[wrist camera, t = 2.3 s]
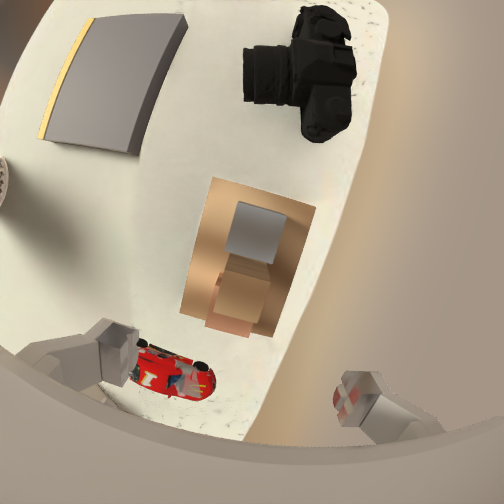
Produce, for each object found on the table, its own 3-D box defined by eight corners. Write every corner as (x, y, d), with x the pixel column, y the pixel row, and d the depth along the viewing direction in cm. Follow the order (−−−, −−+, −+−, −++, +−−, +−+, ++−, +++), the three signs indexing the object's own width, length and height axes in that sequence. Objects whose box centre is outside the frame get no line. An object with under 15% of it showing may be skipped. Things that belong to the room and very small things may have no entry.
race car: (223, 367, 30) (218, 387, 26) (210, 396, 31) (205, 417, 27) (122, 326, 30) (108, 341, 26) (118, 359, 31) (105, 374, 27)
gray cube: (269, 253, 26) (272, 264, 22) (228, 242, 26) (224, 250, 22) (281, 212, 25) (287, 216, 21) (239, 200, 25) (237, 201, 21)
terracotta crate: (248, 318, 27) (248, 338, 23) (210, 308, 27) (204, 326, 23) (259, 282, 26) (261, 298, 22) (219, 271, 26) (214, 285, 22)
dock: (138, 155, 26) (126, 151, 23) (51, 141, 25) (36, 138, 22) (188, 27, 23) (183, 13, 19) (97, 28, 22) (86, 19, 19)
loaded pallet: (270, 326, 30) (280, 392, 19) (184, 303, 29) (152, 360, 18) (310, 206, 27) (349, 214, 16) (216, 178, 27) (192, 167, 15)
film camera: (244, 29, 23) (243, -18, 14) (327, 35, 23) (350, -6, 14) (243, 147, 26) (239, 126, 17) (336, 151, 26) (371, 135, 17)
